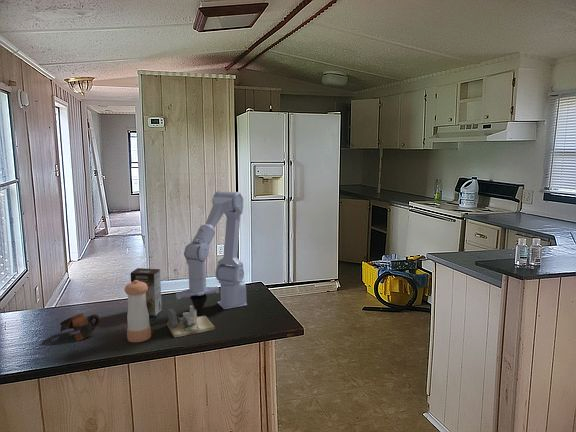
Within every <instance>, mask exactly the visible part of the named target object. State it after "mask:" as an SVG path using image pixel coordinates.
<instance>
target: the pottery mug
mask: <svg viewBox="0 0 576 432" xmlns="http://www.w3.org/2000/svg"><path fill="white" fill-rule="evenodd" d="M94 319H95V321H94V323H93V322H92V321H93V320H94ZM100 323H101V317H100V316H99V314H97V313H93V314H90V315H89V316H86V315H84V313H83V312H81V313H78V314H75V315H73V316H71V317H68V318H67V319H64V320H63V321H61V322H60V323H59V325H60V329H59V330H60V332H61V333H62V332H63V331H65V330H70V329H71V330H72V329H73V330H74V331H75V332H77V331H79V332H78V333H77V334H74V339H75V341H76V342H80V341H83V340H84V339H86V338H90V337H92V336H93V334H94V333H93V332H94V331H95V329H96V328H97V327H98V326H100Z"/></svg>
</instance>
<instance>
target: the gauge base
mask: <svg viewBox="0 0 576 432" xmlns="http://www.w3.org/2000/svg"><path fill="white" fill-rule="evenodd" d="M166 324H167V325H166V326H167V327H168V330H169V331H170V333H171V335H172V336H173V337H174V339H175V338H181V337H183V336H190V335H195V334H200V333H206V332H210V331H215V330H216V329H215V328H216V327H215V325H214V324H213V323H212V321H210V320H209V318H208V317H207V316H206V315H201V316H199V317H198V316H197V323H194V324H191V325H189V326H184V325H183V321H182V322H180V323H179V324H177V328H174V329H172V327H171V326H170V324H169V321H168V322H166Z"/></svg>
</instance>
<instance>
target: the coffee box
mask: <svg viewBox="0 0 576 432" xmlns="http://www.w3.org/2000/svg"><path fill="white" fill-rule="evenodd" d="M134 280H138V281H141V282H144V283H146V284H147V286H148V290H147V292H146V305H147V309H148V314H149V317H150V316H152V317H153V316H154V317H155V316H157V315H158V314H159V313H160V312H161V311H162V290H161V289H162V286H161V269H160V268H143V267H141V268H140V267H138V268H136V269H134V270H133V271H131V272H130V283H131V282H133V281H134Z"/></svg>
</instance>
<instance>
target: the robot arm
mask: <svg viewBox="0 0 576 432" xmlns="http://www.w3.org/2000/svg"><path fill="white" fill-rule="evenodd" d="M211 200H212V201H211V203H212V207H211V208H210V209H211V210H210V212H209V215H208V217H207V219H206V221H205V223H203V224H201V225H200V226H199V228H198V230H197V232H196V234H195V236H194V237H193V239H192V241H191V242H189V243H188V244H187V245H186V246H185V248H184V252H183V256H184V258H185V260H186V265H188V267H187V268H188V269H187V270H188V289H184V290H181V291H177V292H175V297H176V299H177V300H181V299H186V298H190V300H191V302H192V304H193V307H194V308H195V309H196V312H197V317H200V316H202V313H203V309H204V306H205V303H206V302H207V300H208V296H207V295H210V294H219V293H220V301H217V304H218V305H219V307H221V308H222V309H223V310H228V309H234V308H238V307H239V308H240V307H244V306H248V303H247V286H246V283H245V282H244V281H243V279H244V277H245V271H244V263H243V262H242V261H241V260H240V259H239V258H238V253H239V239H240V237H239V236H240V226H241V215H242V214H243V209H244V197H243V196H242V194H241V192H239V191H221V190H217V191H216V192H215V193H214V195H213V197H212V199H211ZM223 215H225V216H226V223H225V233H224V234H225V236H224V246H223V247H224V248H223V257H222V258H221V259H219V260H218V261H217V265H216V268H215V272H214V274H215V279H216V280H217V281H218V283H219V284H220V287H219V286H217V285H216V286H207V276H206V273H207V272H206V271H207V270H206V260H207V259H208V257H209V253H210V248H211V247H210V244H211V243H212V241H213V239H214V237H215V235H216V230H215V228H216V226H217V224H218V223H219V221H220V219H221V218H222V217H223Z"/></svg>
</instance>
